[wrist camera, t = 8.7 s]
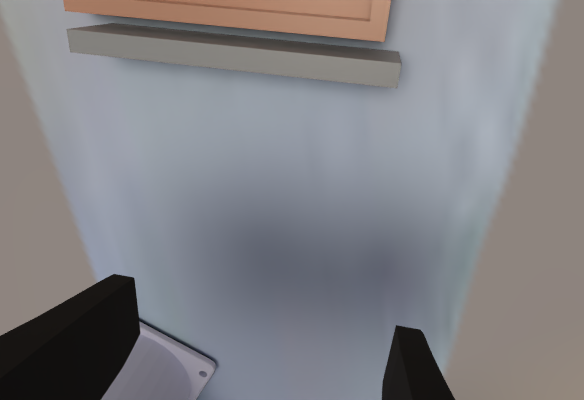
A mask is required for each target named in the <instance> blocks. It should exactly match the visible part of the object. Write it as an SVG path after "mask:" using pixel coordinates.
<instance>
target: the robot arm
mask: <svg viewBox="0 0 584 400" xmlns="http://www.w3.org/2000/svg"><path fill="white" fill-rule="evenodd" d="M215 368H216V364H215V363H214V362H213V361H212V360H210V359H209V358H207V357H205V356H203V355H201V354H199V353H197V352H196V351H194V350H192V349H190V348H188V347H186V346H184V345H183V344H181V343H179V342H177V341H175V340H173V339H171V338H169V337H168V336H166V335H164V334H162V333H160V332H158V331H156V330H155V329H153V328H151V327H149V326H147V325H145V324H143V323H142V322H140V321H139V315H138V306H137V298H136V289H135V280H134V278H133V277H127V276H122V275H116V274H113V275H111V276H109V277H107V278H105V279H104V280H102V281H100V282H98V283H96V284H95V285H93V286H91V287H89V288H88V289H86V290H84V291H82V292H81V293H79V294H77V295H75V296H74V297H72V298H70V299H68V300H66V301H65V302H63V303H62V304H59V305H58V306H56V307H54V308H52V309H50V310H49V311H47V312H45V313H43V314H42V315H40V316H38V317H36V318H34V319H32V320H30V321H28V322H26V323H24V324H22V325H20V326H19V327H17V328H15V329H13V330H11V331H9V332H7V333H5V334H3V335H1V336H0V400H196V398H197V397H198V395H199V394H200V392H201V391H202V389H203V388H204V386H205V385H206V383H207V382H208V380H209V379H210V377H211V376H212V374H213V373H214V371H215ZM382 400H455V398H454V397H453V395H452V393H451V391H450V389H449V387H448V385H447V383H446V382H445V380H444V378H443V376H442V374H441V371H440V369H439V367H438V365H437V363H436V361H435V359H434V357H433V355H432V352H431V350H430V348H429V346H428V343H427V341H426V338H425V336H424V334H423V332H422V331H421V330H419V329H413V328H408V327H402V326H397V325H396V328H395V332H394V336H393V341H392V345H391V349H390V353H389V357H388V362H387V366H386V370H385V374H384V378H383V387H382Z"/></svg>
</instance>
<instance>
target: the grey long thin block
mask: <svg viewBox="0 0 584 400" xmlns="http://www.w3.org/2000/svg"><path fill="white" fill-rule="evenodd" d="M67 34H68V41H69V48H70V52H73V53H82V54H91V55H100V56H109V57H119V58H128V59H137V60H146V61H155V62H164V63H173V64H182V65H191V66H200V67H209V68H218V69H227V70H236V71H245V72H254V73H263V74H273V75H282V76H291V77H300V78H309V79H318V80H327V81H336V82H345V83H354V84H363V85H372V86H381V87H390V88H397V86H398V80H399V75H400V69H401V60H400V56H399V52H396V51H386V50H376V49H366V48H356V47H346V46H336V45H326V44H316V43H306V42H296V41H286V40H276V39H266V38H255V37H245V36H235V35H225V34H215V33H205V32H195V31H185V30H175V29H165V28H155V27H145V26H135V25H125V24H115V23H110V24H103V25H95V26H87V27H80V28H72V29H67Z"/></svg>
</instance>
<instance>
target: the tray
mask: <svg viewBox="0 0 584 400" xmlns="http://www.w3.org/2000/svg"><path fill="white" fill-rule="evenodd" d="M63 1H64V8H65V11H71V12H81V13H91V14H102V15H112V16H122V17H133V18H143V19H153V20H164V21H174V22H184V23H195V24H205V25H215V26H226V27H236V28H246V29H257V30H267V31H277V32H288V33H298V34H308V35H319V36H329V37H339V38H350V39H360V40H370V41H381V42H384V41H385V35H386V29H387V22H388V16H389V10H390V4H391V0H63Z"/></svg>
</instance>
